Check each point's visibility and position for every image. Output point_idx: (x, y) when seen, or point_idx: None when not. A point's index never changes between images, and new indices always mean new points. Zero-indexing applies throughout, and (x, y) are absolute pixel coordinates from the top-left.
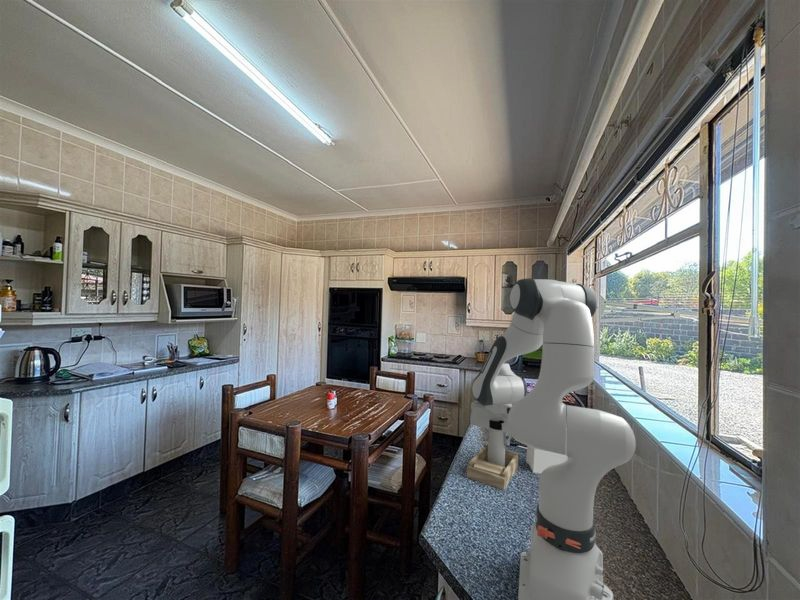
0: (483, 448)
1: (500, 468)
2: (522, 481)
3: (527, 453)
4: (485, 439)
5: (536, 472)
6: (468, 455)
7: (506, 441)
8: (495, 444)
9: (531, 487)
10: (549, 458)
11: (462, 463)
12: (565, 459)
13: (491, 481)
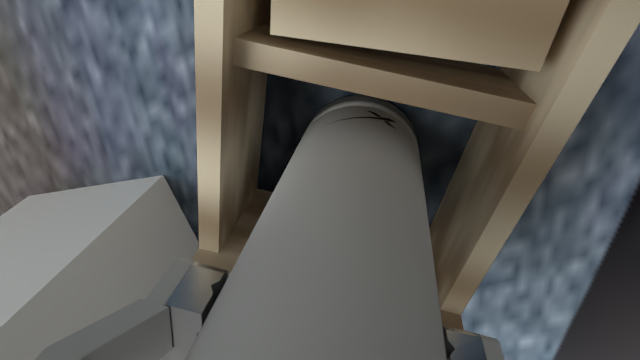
0: (463, 292)
1: (287, 2)
2: (194, 97)
3: None
4: (477, 334)
5: (134, 190)
6: (543, 280)
7: (177, 296)
8: (331, 235)
9: (133, 47)
10: (5, 258)
11: (606, 174)
12: None
13: None
